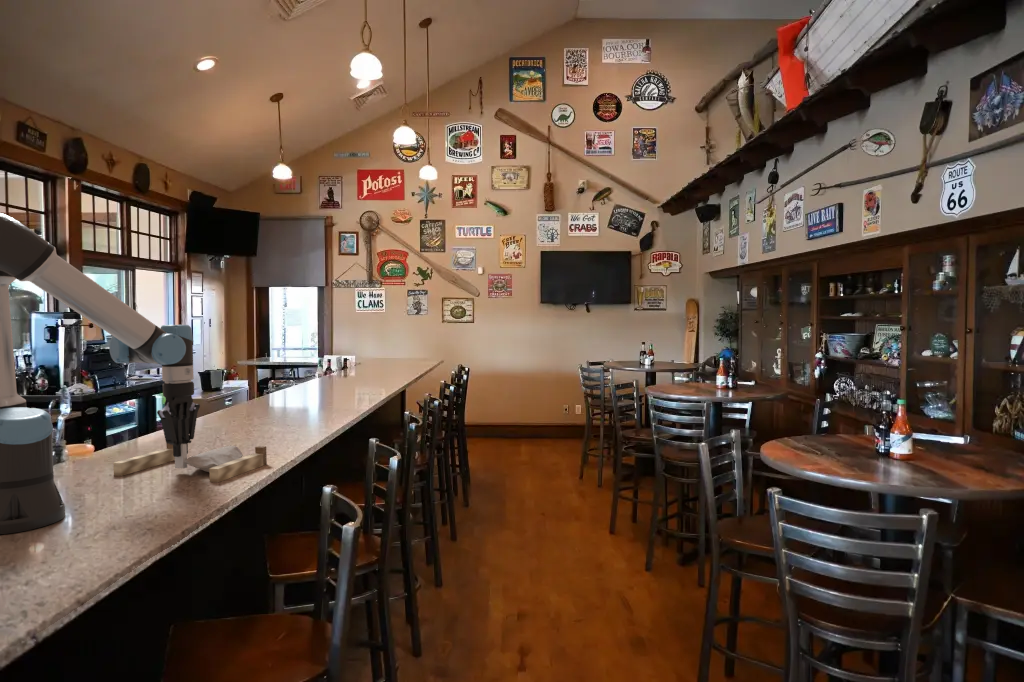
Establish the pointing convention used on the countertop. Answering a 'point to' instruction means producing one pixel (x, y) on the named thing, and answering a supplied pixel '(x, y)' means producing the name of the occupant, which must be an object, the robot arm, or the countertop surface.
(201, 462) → the stone
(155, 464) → the rails
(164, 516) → the countertop surface
